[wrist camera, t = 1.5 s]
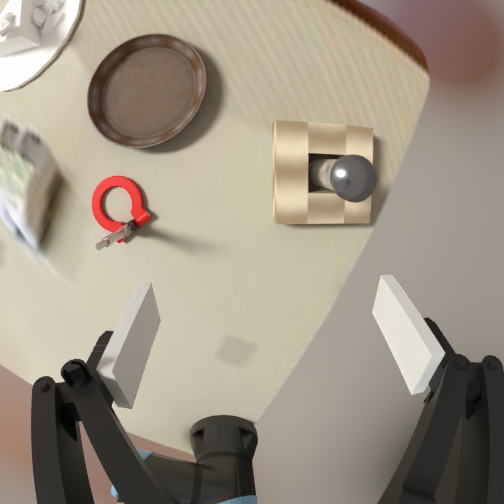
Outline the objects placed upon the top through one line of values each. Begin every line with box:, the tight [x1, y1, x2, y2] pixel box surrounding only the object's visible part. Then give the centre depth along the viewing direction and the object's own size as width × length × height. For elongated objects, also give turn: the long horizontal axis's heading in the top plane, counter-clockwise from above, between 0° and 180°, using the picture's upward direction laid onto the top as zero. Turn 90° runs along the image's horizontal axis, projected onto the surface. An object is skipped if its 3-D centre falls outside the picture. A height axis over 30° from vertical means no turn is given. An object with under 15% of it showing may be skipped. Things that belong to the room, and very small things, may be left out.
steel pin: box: [308, 155, 376, 203], centre depth 36 cm, size 5×5×13 cm
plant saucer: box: [87, 33, 206, 148], centre depth 35 cm, size 18×18×3 cm
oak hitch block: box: [273, 121, 373, 224], centre depth 40 cm, size 14×14×4 cm
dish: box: [0, 0, 82, 92], centre depth 23 cm, size 25×25×11 cm
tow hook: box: [92, 176, 151, 250], centre depth 35 cm, size 8×13×9 cm
